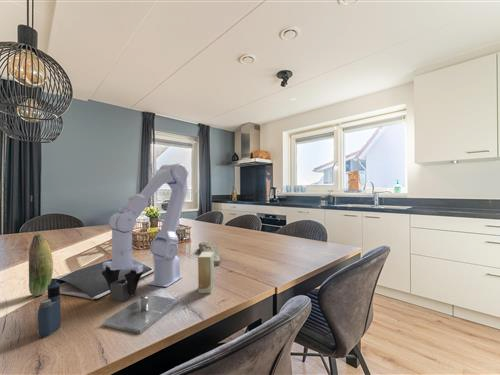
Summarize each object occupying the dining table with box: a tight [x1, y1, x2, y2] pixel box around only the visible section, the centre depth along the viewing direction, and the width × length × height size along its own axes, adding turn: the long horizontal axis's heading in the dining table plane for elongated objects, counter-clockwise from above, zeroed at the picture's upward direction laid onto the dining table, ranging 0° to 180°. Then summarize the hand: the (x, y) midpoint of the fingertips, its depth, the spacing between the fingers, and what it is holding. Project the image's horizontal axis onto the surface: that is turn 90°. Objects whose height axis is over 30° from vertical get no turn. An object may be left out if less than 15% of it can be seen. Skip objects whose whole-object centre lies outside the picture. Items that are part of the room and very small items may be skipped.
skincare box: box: [197, 252, 215, 294], centre depth 83 cm, size 6×4×12 cm
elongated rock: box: [198, 241, 222, 267], centre depth 123 cm, size 35×5×10 cm
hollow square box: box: [109, 277, 136, 302], centre depth 78 cm, size 5×5×5 cm
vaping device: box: [37, 279, 62, 338], centre depth 59 cm, size 3×5×12 cm, turn 2°
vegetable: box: [28, 234, 54, 297], centre depth 80 cm, size 6×6×20 cm
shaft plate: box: [102, 294, 181, 335], centre depth 68 cm, size 16×12×4 cm
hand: (122, 292), depth 78 cm, fingers open, 7 cm apart
